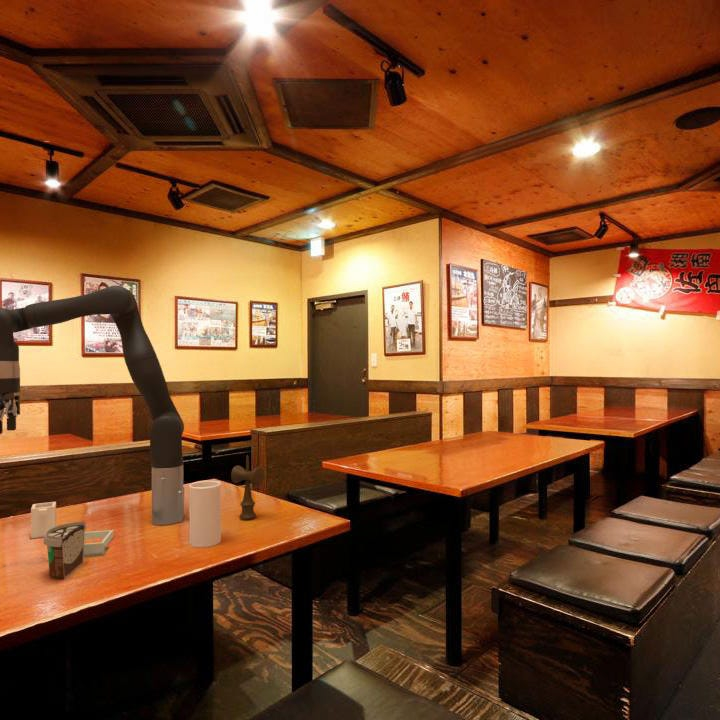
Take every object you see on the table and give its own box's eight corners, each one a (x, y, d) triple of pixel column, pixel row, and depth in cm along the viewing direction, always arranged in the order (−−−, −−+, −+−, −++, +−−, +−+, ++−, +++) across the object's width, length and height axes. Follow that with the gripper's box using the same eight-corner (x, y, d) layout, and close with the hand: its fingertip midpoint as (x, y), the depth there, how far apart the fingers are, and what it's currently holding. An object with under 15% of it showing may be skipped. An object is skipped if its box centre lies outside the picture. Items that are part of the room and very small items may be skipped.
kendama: (254, 523, 154) (254, 458, 155) (229, 519, 158) (229, 455, 159) (265, 517, 160) (265, 454, 160) (241, 513, 164) (241, 452, 164)
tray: (113, 541, 139) (113, 529, 139) (103, 555, 129) (103, 543, 129) (72, 544, 137) (72, 532, 137) (58, 559, 127) (58, 546, 127)
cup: (192, 549, 133) (192, 488, 133) (187, 539, 140) (187, 482, 140) (223, 544, 137) (223, 485, 137) (217, 535, 144) (217, 479, 144)
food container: (60, 561, 125) (60, 521, 125) (85, 560, 126) (85, 520, 126) (32, 583, 113) (32, 538, 113) (60, 582, 113) (60, 537, 113)
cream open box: (56, 529, 145) (56, 501, 145) (54, 536, 139) (54, 507, 139) (32, 532, 142) (32, 504, 142) (30, 539, 136) (30, 510, 136)
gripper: (7, 377, 141) (7, 435, 141) (29, 376, 155) (29, 428, 155) (-23, 377, 140) (-23, 436, 139) (1, 376, 153) (1, 429, 153)
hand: (4, 432), depth 147 cm, fingers open, 8 cm apart
